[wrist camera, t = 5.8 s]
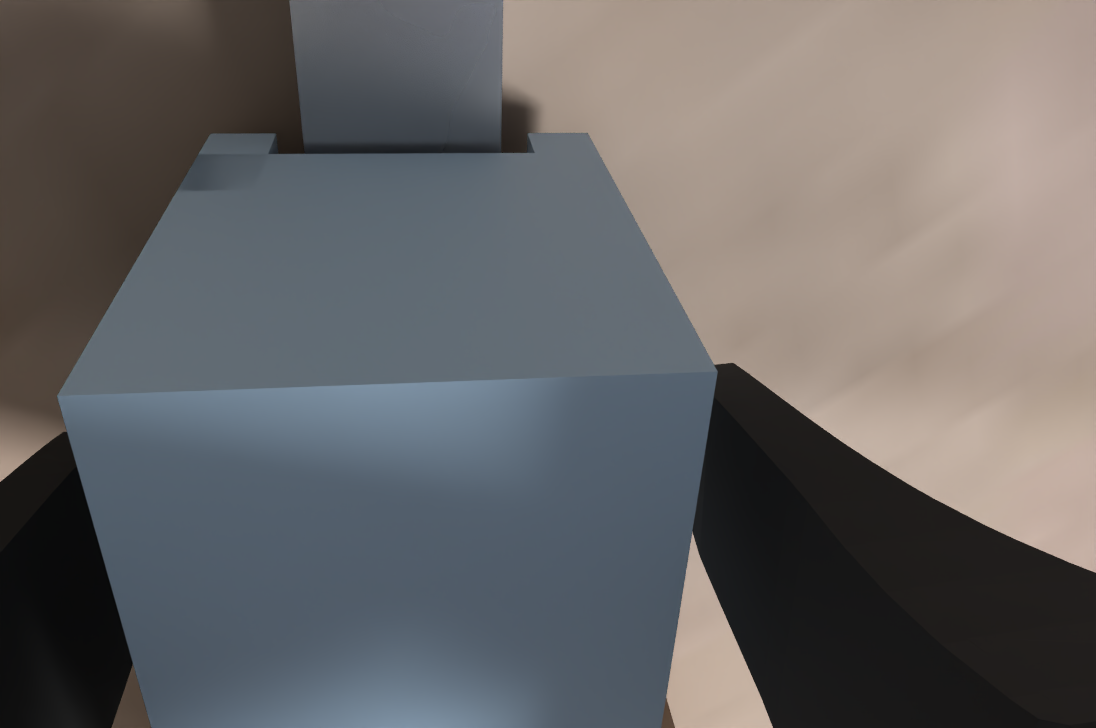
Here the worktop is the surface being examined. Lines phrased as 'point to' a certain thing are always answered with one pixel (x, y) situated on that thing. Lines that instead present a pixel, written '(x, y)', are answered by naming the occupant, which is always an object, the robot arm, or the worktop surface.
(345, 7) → the rail
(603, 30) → the worktop surface
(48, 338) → the worktop surface
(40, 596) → the robot arm
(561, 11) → the worktop surface
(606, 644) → the block
